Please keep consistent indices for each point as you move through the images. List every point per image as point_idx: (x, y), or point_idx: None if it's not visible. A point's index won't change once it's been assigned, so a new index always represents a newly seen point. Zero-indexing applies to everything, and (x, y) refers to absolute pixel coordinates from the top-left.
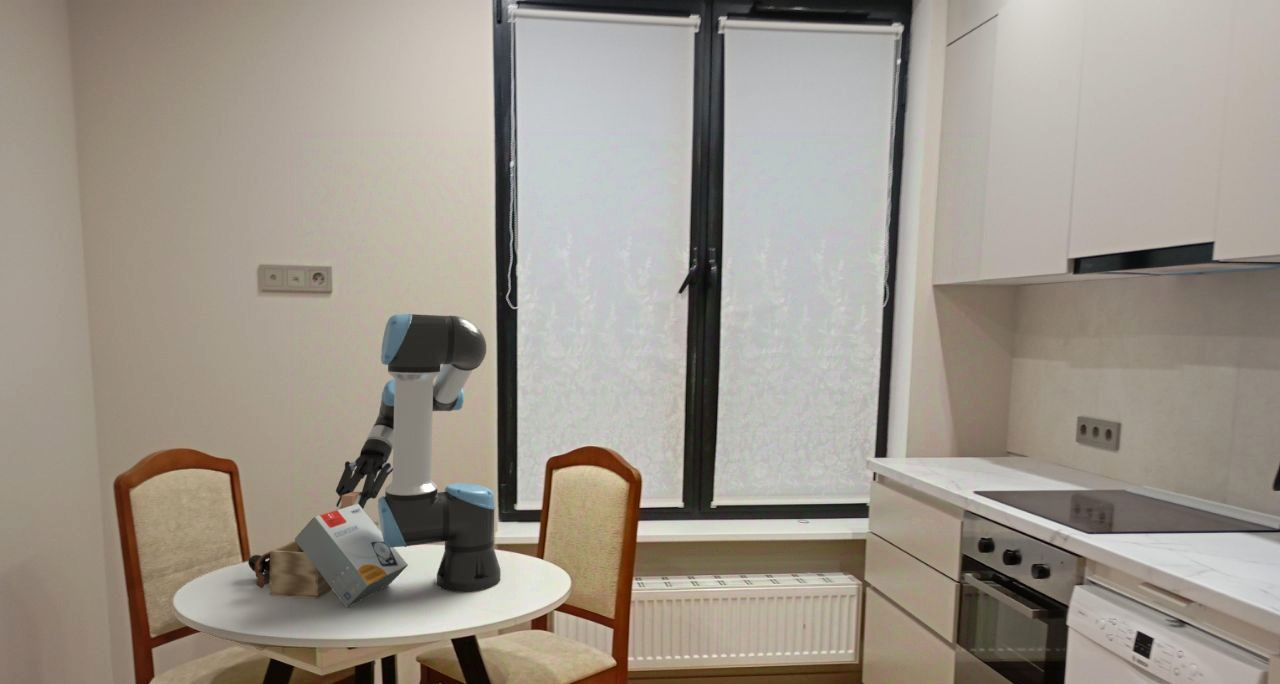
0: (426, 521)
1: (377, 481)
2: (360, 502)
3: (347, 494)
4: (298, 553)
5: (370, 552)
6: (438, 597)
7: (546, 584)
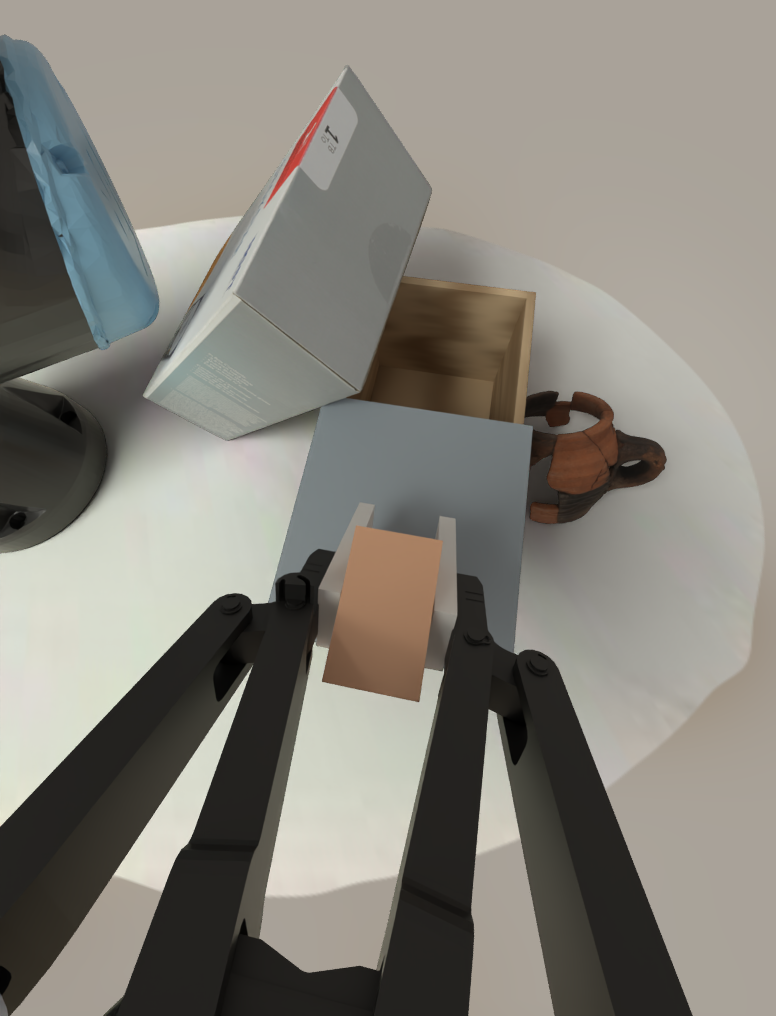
0: None
1: (141, 691)
2: (318, 570)
3: (416, 584)
4: (434, 281)
5: (208, 282)
6: (100, 371)
7: None
